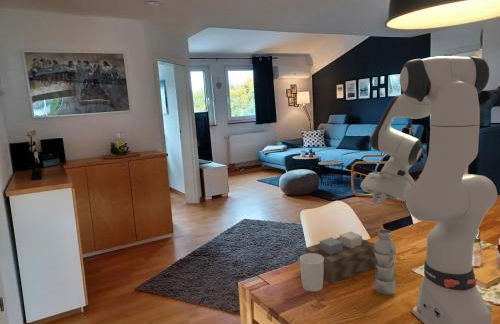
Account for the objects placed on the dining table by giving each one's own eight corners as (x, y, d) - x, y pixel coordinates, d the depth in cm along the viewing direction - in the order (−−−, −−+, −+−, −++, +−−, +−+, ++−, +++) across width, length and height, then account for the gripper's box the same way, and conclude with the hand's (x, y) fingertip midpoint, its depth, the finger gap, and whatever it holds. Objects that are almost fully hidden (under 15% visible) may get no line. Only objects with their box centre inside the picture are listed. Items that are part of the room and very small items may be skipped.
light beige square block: (350, 241, 136) (350, 231, 136) (362, 246, 131) (362, 235, 131) (339, 245, 134) (339, 234, 133) (350, 250, 129) (350, 239, 128)
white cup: (319, 279, 124) (318, 251, 122) (328, 290, 116) (327, 261, 115) (297, 282, 123) (296, 254, 121) (304, 294, 115) (303, 265, 113)
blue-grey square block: (331, 247, 132) (331, 237, 131) (342, 252, 127) (342, 242, 126) (320, 251, 129) (319, 241, 128) (330, 257, 124) (330, 246, 123)
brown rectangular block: (349, 253, 143) (349, 234, 142) (378, 266, 131) (378, 245, 130) (306, 268, 132) (305, 247, 131) (332, 284, 120) (332, 261, 119)
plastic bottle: (398, 298, 110) (399, 236, 107) (374, 296, 111) (375, 235, 108) (394, 287, 116) (395, 228, 113) (372, 286, 118) (372, 227, 114)
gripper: (367, 166, 147) (350, 193, 144) (412, 173, 129) (393, 205, 126) (375, 175, 150) (358, 202, 147) (419, 184, 132) (401, 214, 129)
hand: (374, 203), depth 136 cm, fingers closed
